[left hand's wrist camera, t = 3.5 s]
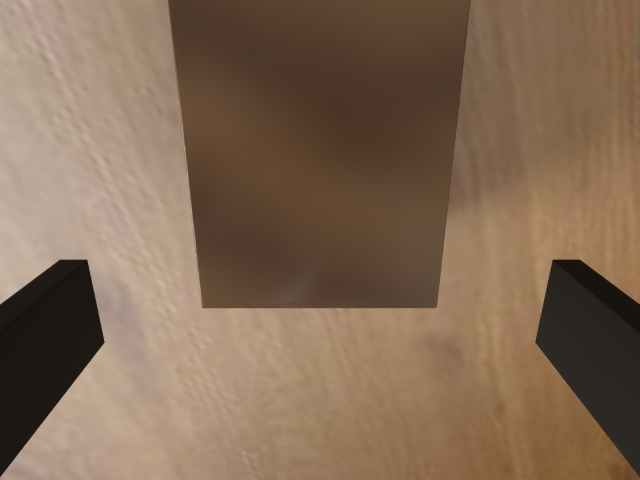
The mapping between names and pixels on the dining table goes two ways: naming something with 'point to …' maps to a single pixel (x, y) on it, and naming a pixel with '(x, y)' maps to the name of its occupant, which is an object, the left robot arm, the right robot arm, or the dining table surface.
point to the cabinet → (319, 147)
